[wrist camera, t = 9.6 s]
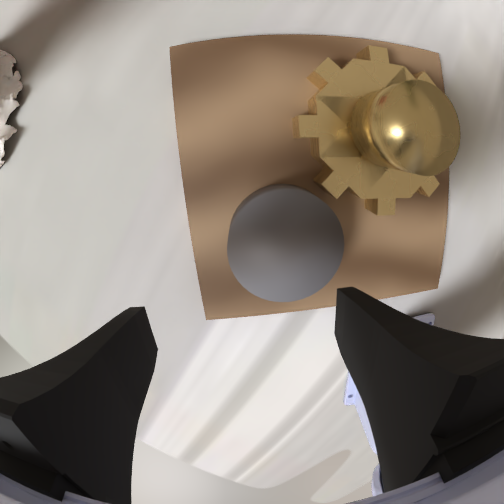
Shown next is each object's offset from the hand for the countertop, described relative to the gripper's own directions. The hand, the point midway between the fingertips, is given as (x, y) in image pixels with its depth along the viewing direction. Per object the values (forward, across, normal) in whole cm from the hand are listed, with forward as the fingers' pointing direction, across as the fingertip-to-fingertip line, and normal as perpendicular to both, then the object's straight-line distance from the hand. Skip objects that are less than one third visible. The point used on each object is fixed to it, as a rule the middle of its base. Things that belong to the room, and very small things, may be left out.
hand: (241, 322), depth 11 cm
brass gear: (+8, -9, -7) cm, 14 cm away
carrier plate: (+9, -6, -4) cm, 12 cm away
